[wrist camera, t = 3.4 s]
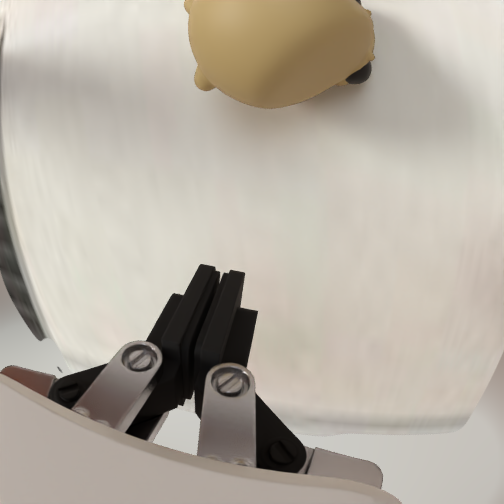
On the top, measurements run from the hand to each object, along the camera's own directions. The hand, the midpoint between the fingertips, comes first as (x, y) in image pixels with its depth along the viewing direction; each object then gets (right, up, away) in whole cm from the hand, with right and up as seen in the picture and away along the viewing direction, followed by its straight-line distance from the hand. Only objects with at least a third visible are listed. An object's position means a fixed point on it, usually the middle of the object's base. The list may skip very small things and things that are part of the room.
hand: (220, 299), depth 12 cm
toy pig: (+4, +17, +7) cm, 19 cm away
